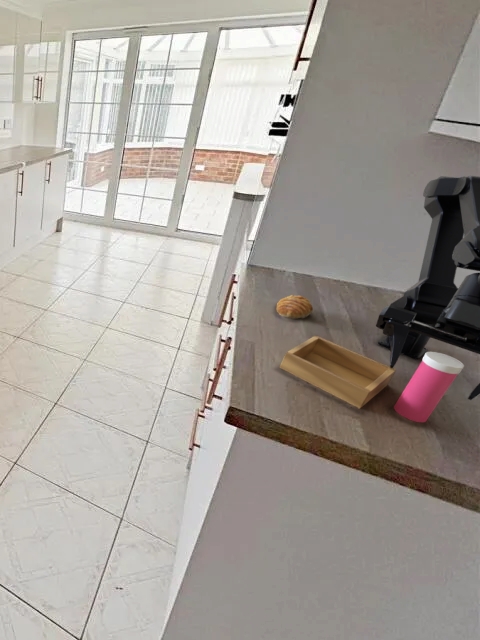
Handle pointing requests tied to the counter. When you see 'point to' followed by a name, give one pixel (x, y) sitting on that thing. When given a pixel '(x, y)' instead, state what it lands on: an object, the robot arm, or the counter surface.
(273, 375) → the counter surface
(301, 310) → the pastry
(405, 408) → the candy tube
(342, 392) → the wooden tray
